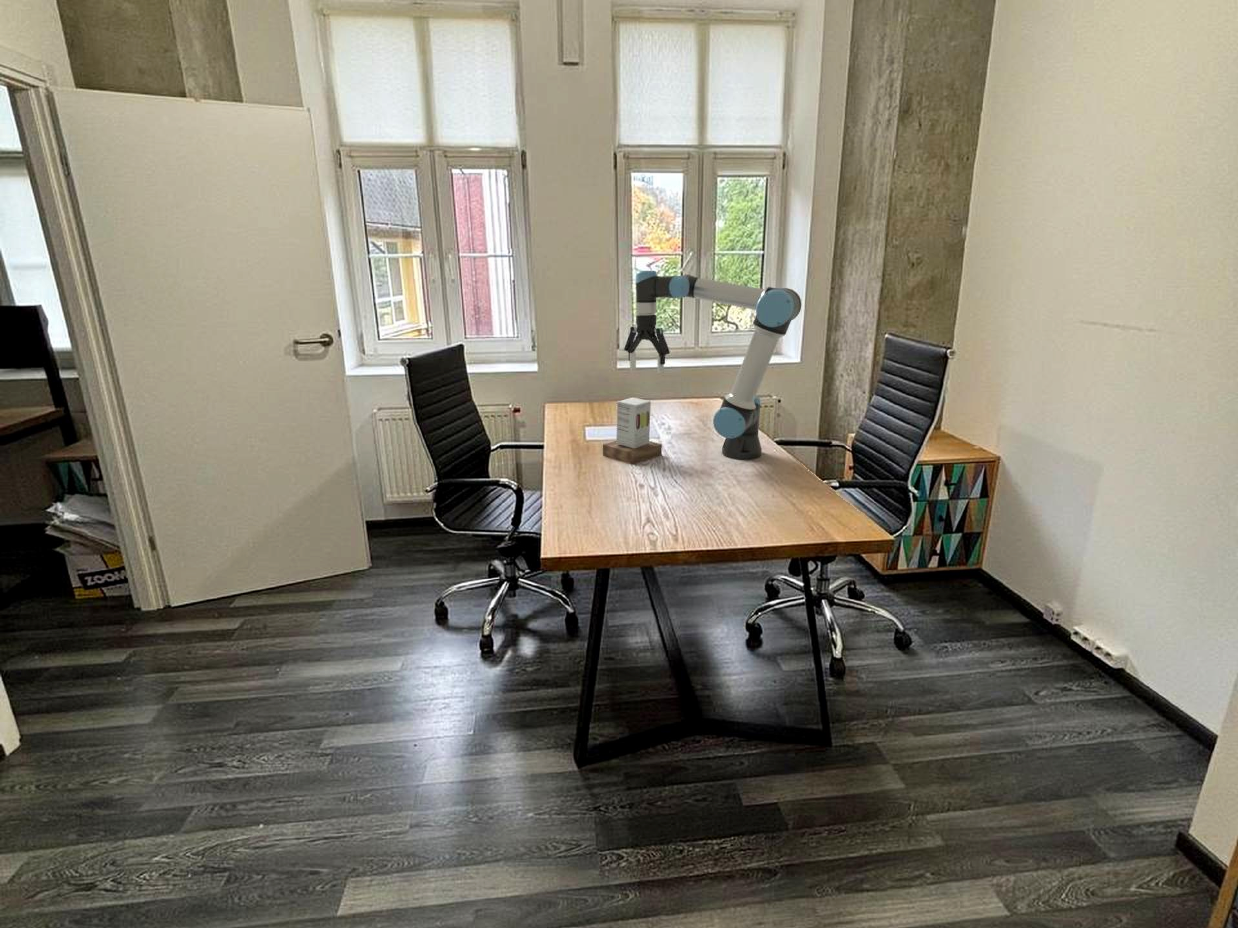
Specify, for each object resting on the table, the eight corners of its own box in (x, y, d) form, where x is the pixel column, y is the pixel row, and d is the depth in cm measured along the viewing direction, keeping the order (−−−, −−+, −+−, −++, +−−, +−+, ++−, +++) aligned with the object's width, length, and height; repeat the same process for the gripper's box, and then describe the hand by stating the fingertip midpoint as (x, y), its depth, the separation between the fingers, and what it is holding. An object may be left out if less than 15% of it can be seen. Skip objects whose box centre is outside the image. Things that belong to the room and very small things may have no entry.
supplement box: (634, 449, 240) (635, 405, 234) (615, 444, 246) (616, 401, 240) (650, 443, 247) (651, 400, 241) (631, 438, 253) (632, 396, 247)
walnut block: (661, 456, 248) (661, 444, 247) (633, 465, 238) (633, 452, 236) (631, 448, 259) (631, 436, 258) (602, 456, 248) (602, 444, 247)
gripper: (679, 314, 232) (678, 373, 239) (627, 312, 248) (628, 367, 255) (666, 316, 227) (666, 376, 233) (614, 313, 243) (615, 369, 249)
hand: (646, 371), depth 244 cm, fingers open, 13 cm apart
